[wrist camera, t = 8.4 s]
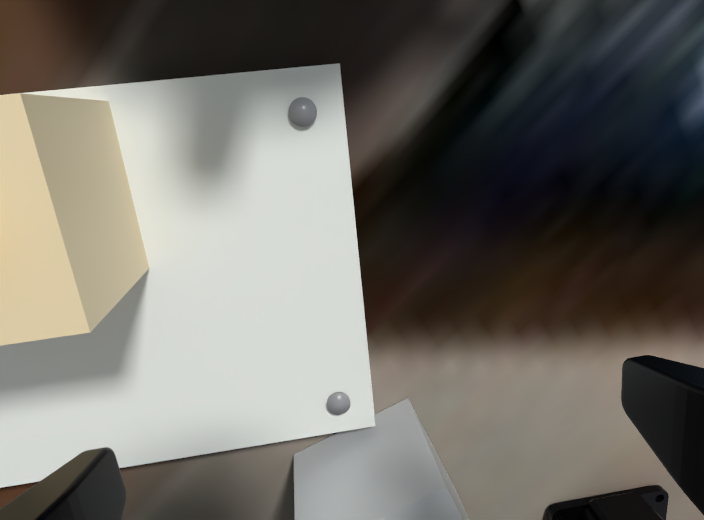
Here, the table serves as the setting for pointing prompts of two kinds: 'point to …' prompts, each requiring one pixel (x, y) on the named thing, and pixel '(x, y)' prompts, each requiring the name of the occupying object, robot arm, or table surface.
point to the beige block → (62, 218)
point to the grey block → (376, 474)
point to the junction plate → (211, 284)
